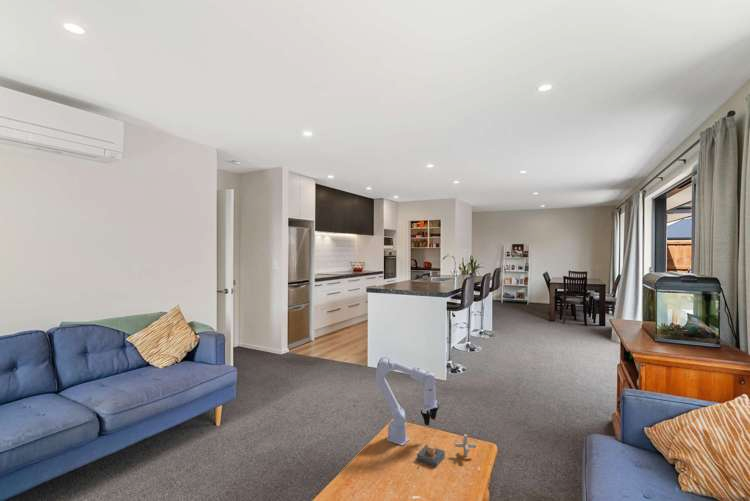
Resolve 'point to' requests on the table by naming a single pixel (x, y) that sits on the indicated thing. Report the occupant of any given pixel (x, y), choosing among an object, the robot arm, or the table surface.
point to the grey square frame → (430, 457)
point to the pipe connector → (465, 445)
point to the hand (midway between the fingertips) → (430, 421)
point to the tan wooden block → (431, 450)
